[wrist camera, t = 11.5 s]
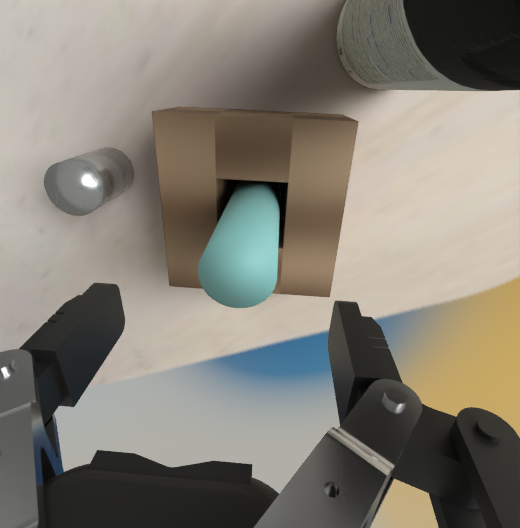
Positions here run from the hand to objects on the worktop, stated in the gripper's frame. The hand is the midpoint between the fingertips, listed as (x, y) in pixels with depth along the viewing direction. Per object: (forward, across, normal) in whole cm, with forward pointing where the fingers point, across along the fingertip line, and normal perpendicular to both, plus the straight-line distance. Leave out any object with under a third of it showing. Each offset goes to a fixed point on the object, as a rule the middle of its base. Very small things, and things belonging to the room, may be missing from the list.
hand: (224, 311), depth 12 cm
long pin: (+17, 0, 0) cm, 17 cm away
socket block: (+17, 0, 0) cm, 17 cm away
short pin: (+17, +12, -1) cm, 21 cm away
